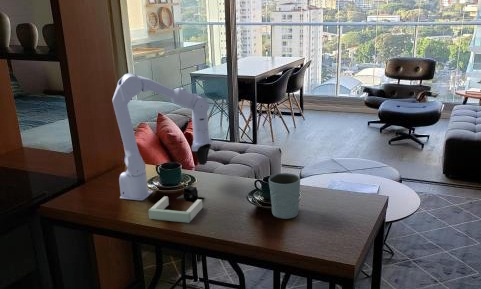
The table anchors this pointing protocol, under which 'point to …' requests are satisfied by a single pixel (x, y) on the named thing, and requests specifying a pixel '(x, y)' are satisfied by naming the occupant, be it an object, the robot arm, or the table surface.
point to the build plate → (190, 194)
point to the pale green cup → (284, 195)
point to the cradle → (172, 215)
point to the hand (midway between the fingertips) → (203, 163)
